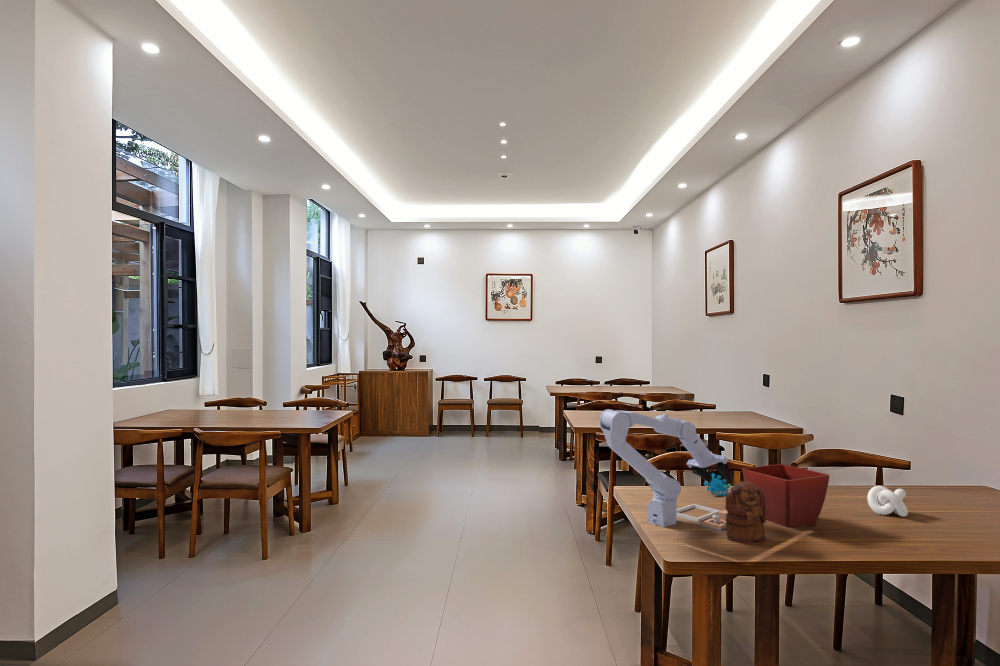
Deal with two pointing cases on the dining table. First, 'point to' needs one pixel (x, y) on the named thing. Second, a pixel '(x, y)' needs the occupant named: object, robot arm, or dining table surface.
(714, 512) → the tray
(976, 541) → the dining table surface
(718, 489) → the gear
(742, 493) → the wooden figurine
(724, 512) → the ring
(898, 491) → the white knot sculpture
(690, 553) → the dining table surface
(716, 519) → the grey plate with knob
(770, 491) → the plant pot
